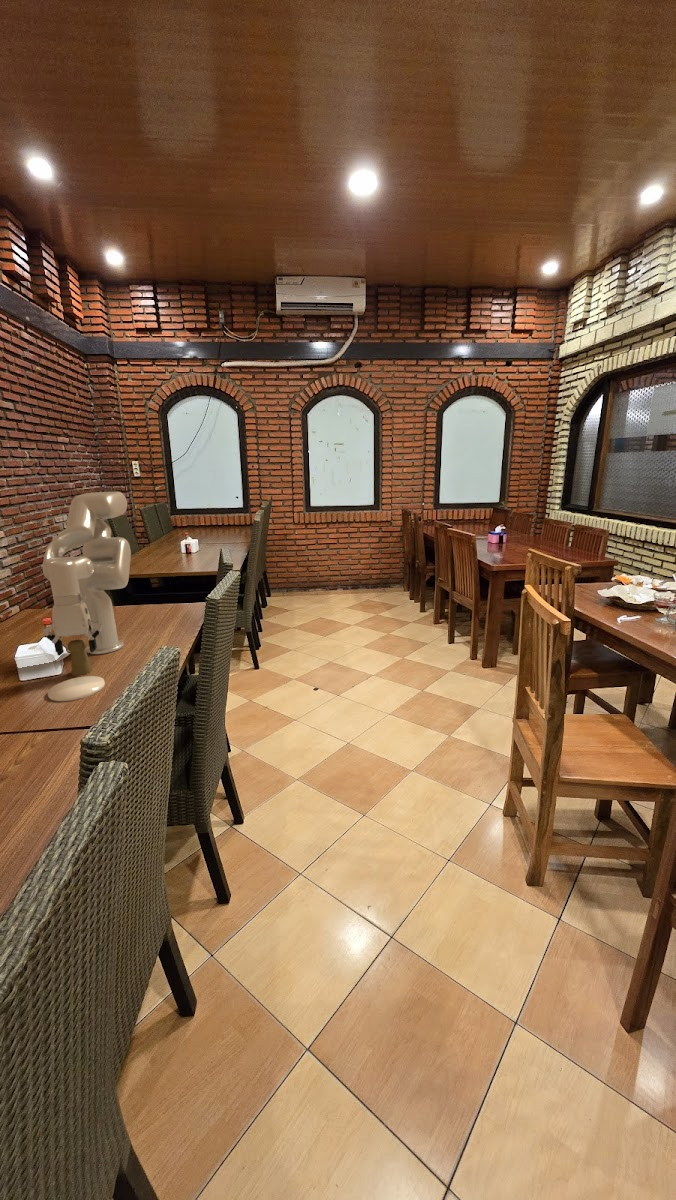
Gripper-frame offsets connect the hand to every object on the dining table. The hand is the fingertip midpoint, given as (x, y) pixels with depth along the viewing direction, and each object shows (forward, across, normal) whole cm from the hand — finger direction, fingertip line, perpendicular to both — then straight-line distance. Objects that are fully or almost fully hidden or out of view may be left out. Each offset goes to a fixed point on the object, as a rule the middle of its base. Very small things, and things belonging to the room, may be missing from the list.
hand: (77, 652), depth 153 cm
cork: (+7, 0, -1) cm, 7 cm away
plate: (+8, -3, +13) cm, 15 cm away
